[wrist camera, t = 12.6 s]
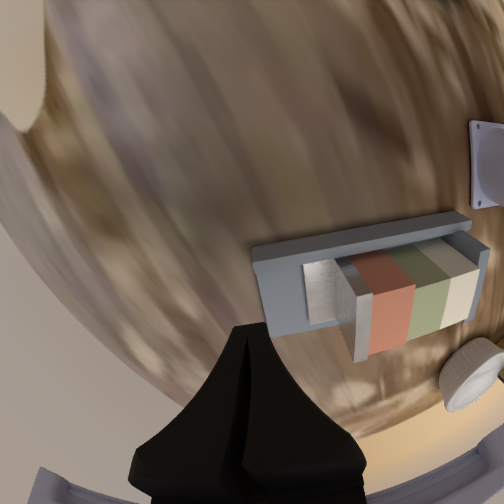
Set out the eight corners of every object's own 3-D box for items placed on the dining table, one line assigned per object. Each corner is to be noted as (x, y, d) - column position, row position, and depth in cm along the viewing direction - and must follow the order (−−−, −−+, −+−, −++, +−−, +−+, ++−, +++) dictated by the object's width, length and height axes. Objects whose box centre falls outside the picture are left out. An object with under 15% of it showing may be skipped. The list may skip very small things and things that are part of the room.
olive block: (412, 244, 19) (451, 278, 14) (408, 290, 21) (439, 329, 16) (380, 251, 19) (415, 288, 14) (378, 298, 21) (406, 341, 16)
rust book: (380, 247, 19) (415, 284, 14) (378, 300, 21) (405, 343, 16) (344, 254, 19) (372, 295, 14) (345, 308, 21) (367, 355, 16)
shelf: (454, 210, 19) (499, 236, 13) (445, 287, 22) (478, 322, 17) (251, 247, 20) (252, 292, 15) (269, 330, 23) (274, 383, 18)
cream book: (440, 238, 19) (480, 268, 14) (434, 283, 21) (467, 318, 16) (412, 244, 19) (451, 278, 14) (408, 290, 21) (439, 329, 16)
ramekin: (490, 315, 25) (512, 339, 20) (489, 355, 28) (504, 376, 24) (427, 365, 27) (444, 395, 22) (435, 396, 31) (448, 420, 26)
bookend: (344, 252, 19) (373, 292, 14) (346, 312, 21) (367, 359, 16) (301, 260, 19) (318, 304, 14) (308, 320, 22) (322, 370, 17)
